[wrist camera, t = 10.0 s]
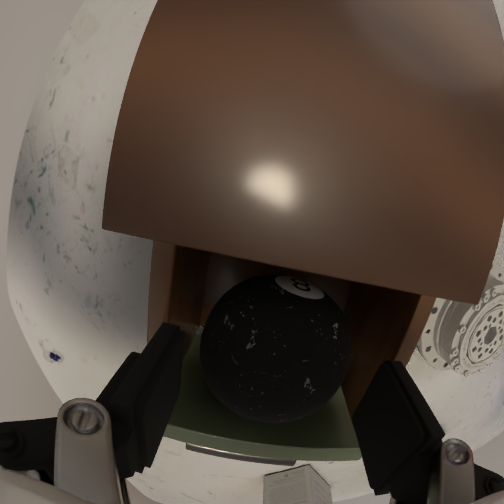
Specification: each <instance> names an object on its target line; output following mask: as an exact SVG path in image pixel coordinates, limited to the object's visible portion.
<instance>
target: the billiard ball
mask: <svg viewBox="0 0 504 504" xmlns="http://www.w3.org/2000/svg"><path fill="white" fill-rule="evenodd" d="M350 356H351V335H350V330H349V326H348V323H347V320H346V318H345V316H344V314H343V312H342V310H341V309H340V307H339V306H338V305H337V303H336V302H335V301H334V300H333V299H332V298H331V297H330V296H329V295H328V294H326V293H325V292H324V291H322V290H321V289H319V288H318V287H316V286H314V285H313V284H311V283H309V282H306V281H304V280H301V279H298V278H294V277H290V276H284V275H263V276H257V277H253V278H250V279H247V280H245V281H242V282H240V283H238V284H237V285H235V286H234V287H232V288H231V289H229V290H228V291H227V292H226V293H225V294H224V295H223V296H222V297H221V298H220V299H219V300H218V302H217V303H216V304H215V306H214V307H213V309H212V310H211V312H210V314H209V316H208V318H207V320H206V323H205V326H204V329H203V332H202V337H201V342H200V362H201V368H202V372H203V375H204V378H205V381H206V383H207V385H208V387H209V388H210V390H211V391H212V393H213V394H214V396H215V397H216V398H217V399H218V400H219V401H220V402H221V403H222V404H223V405H225V406H226V407H227V408H228V409H230V410H231V411H233V412H235V413H236V414H238V415H240V416H243V417H245V418H248V419H250V420H254V421H259V422H265V423H283V422H289V421H294V420H297V419H301V418H303V417H306V416H308V415H310V414H312V413H314V412H315V411H317V410H318V409H320V408H321V407H322V406H324V405H325V404H326V403H327V402H328V401H329V400H330V399H331V398H332V397H333V396H334V394H335V393H336V392H337V390H338V389H339V388H340V386H341V384H342V382H343V380H344V378H345V375H346V373H347V369H348V366H349V362H350Z"/></svg>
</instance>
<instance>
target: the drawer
mask: <svg viewBox="0 0 504 504" xmlns="http://www.w3.org/2000/svg"><path fill="white" fill-rule="evenodd" d="M263 275H284V276H290V277H294V278H298V279H301V280H304V281H306V282H309V283H311V284H313V285H314V286H316V287H318V288H319V289H321V290H322V291H324V292H325V293H326V294H328V295H329V296H330V297H331V298H332V299H333V300H334V301H335V302H336V303H337V305H338V306H339V307H340V309H341V310H342V312H343V314H344V316H345V318H346V320H347V323H348V326H349V330H350V335H351V356H350V362H349V366H348V369H347V373H346V375H345V378H344V380H343V382H342V384H341V386H340V388H339V389H338V390H337V392H336V393H335V394H334V396H333V397H332V398H331V399H330V400H329V401H328V402H327V403H326V404H325V405H324V406H322V407H321V408H320V409H318V410H317V411H315V412H314V413H312V414H310V415H308V416H306V417H303V418H301V419H297V420H294V421H289V422H283V423H265V422H259V421H254V420H250V419H248V418H245V417H243V416H240V415H238V414H236V413H235V412H233V411H231V410H230V409H228V408H227V407H226V406H225V405H223V404H222V403H221V402H220V401H219V400H218V399H217V398H216V397H215V396H214V394H213V393H212V391H211V390H210V388H209V387H208V385H207V383H206V381H205V378H204V375H203V372H202V368H201V362H200V342H201V337H202V335H198V334H196V332H197V330H198V328H199V326H202V327H204V326H205V323H206V320H207V318H208V316H209V314H210V312H211V310H212V309H213V307H214V306H215V304H216V303H217V302H218V300H219V299H220V298H221V297H222V296H223V295H224V294H225V293H226V292H227V291H228V290H229V289H231V288H232V287H234V286H235V285H237V284H238V283H240V282H242V281H245V280H247V279H250V278H253V277H257V276H263ZM435 301H436V297H431V296H426V295H420V294H415V293H410V292H405V291H400V290H394V289H389V288H384V287H379V286H374V285H369V284H364V283H359V282H354V281H348V280H343V279H338V278H333V277H328V276H323V275H318V274H313V273H308V272H304V271H299V270H294V269H289V268H284V267H279V266H274V265H269V264H264V263H259V262H255V261H250V260H245V259H240V258H235V257H231V256H226V255H221V254H216V253H211V252H207V251H202V250H197V249H193V248H188V247H183V246H178V245H174V244H169V243H164V242H160V241H155V240H153V250H152V260H151V272H150V286H149V303H148V330H147V344H148V343H149V341H150V340H151V339H152V337H153V336H154V334H155V333H156V331H157V330H158V329H159V327H160V326H161V324H162V323H163V322H166V323H170V324H174V325H178V326H180V331H184V332H185V339H184V350H183V361H182V373H181V387H180V393H179V397H178V399H177V402H176V404H175V407H174V409H173V412H172V414H171V417H170V419H169V422H168V424H167V427H166V429H165V432H164V435H163V436H164V437H168V438H171V439H175V440H178V441H182V442H186V449H187V450H191V451H195V452H200V453H204V454H208V455H213V456H218V457H223V458H229V459H235V460H241V461H248V462H255V463H264V464H273V465H285V466H293V465H294V464H295V463H296V460H307V461H350V460H359V459H360V458H361V457H362V455H361V451H360V448H359V444H358V440H357V437H356V433H355V430H354V426H353V423H352V416H353V413H354V411H355V410H356V408H357V406H358V405H359V403H360V401H361V399H362V398H363V396H364V394H365V392H366V390H367V388H368V387H369V385H370V383H371V381H372V379H373V377H374V375H375V373H376V371H377V369H378V367H379V366H380V365H381V364H383V363H384V362H385V361H387V360H392V361H401V362H402V364H403V365H404V367H406V365H407V364H408V362H409V360H410V358H411V356H412V354H413V352H414V350H415V348H416V345H417V343H418V341H419V339H420V337H421V335H422V332H423V330H424V328H425V326H426V323H427V321H428V319H429V316H430V314H431V311H432V309H433V306H434V304H435Z"/></svg>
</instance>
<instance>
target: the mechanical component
mask: <svg viewBox="0 0 504 504" xmlns="http://www.w3.org/2000/svg"><path fill="white" fill-rule="evenodd" d="M417 346H418V349H419V352H420V354H421V355H422V356H423V358H424V359H425V360H426V362H427V363H428V364H429V365H431V366H432V367H434V368H435V369H440V370H450V369H453V370H454V371H455V372H456V373H458V374H464V376H465V377H467V376H468V375H469V374H472V373H474V372H476V371H478V370H479V372H482V371H483V370H484V368H485V366H486V365H487V366H490V365H491V364H492V360H493V359H497V358H498V357H499V355H500V353H499V352H500V351H501V350H502V348H503V347H504V271H503V269H502V268H501V267H500V265H499V264H498V263H497V261H494V260H493V263H492V266H491V270H490V273H489V276H488V279H487V282H486V285H485V288H484V291H483V293H482V296H481V299H480V301H479V304H478V305H474V304H468V303H463V302H458V301H452V300H447V299H441V298H436V301H435V304H434V306H433V309H432V311H431V314H430V316H429V319H428V321H427V323H426V326H425V328H424V330H423V332H422V335H421V337H420V339H419V341H418V343H417Z"/></svg>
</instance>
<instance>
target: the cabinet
mask: <svg viewBox="0 0 504 504" xmlns="http://www.w3.org/2000/svg"><path fill="white" fill-rule="evenodd" d="M503 218H504V42H503V37H502V33H501V29H500V25H499V21H498V17H497V14H496V11H495V7H494V4H493V1H492V0H158V1H157V3H156V5H155V8H154V10H153V12H152V15H151V17H150V19H149V22H148V24H147V27H146V29H145V32H144V34H143V37H142V40H141V42H140V45H139V48H138V51H137V54H136V57H135V60H134V63H133V66H132V69H131V72H130V75H129V79H128V82H127V86H126V89H125V93H124V97H123V100H122V104H121V108H120V112H119V117H118V121H117V126H116V130H115V135H114V140H113V145H112V151H111V156H110V162H109V169H108V176H107V183H106V191H105V199H104V209H103V221H102V229H105V230H109V231H114V232H118V233H123V234H127V235H132V236H137V237H141V238H146V239H150V240H155V241H160V242H164V243H169V244H174V245H178V246H183V247H188V248H193V249H197V250H202V251H207V252H211V253H216V254H221V255H226V256H231V257H235V258H240V259H245V260H250V261H255V262H259V263H264V264H269V265H274V266H279V267H284V268H289V269H294V270H299V271H304V272H308V273H313V274H318V275H323V276H328V277H333V278H338V279H343V280H348V281H354V282H359V283H364V284H369V285H374V286H379V287H384V288H389V289H394V290H400V291H405V292H410V293H415V294H420V295H426V296H431V297H436V298H441V299H447V300H452V301H458V302H463V303H468V304H474V305H478V304H479V301H480V299H481V296H482V293H483V291H484V288H485V285H486V282H487V279H488V276H489V273H490V270H491V266H492V263H493V260H494V256H495V252H496V249H497V245H498V241H499V237H500V232H501V228H502V223H503Z"/></svg>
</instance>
